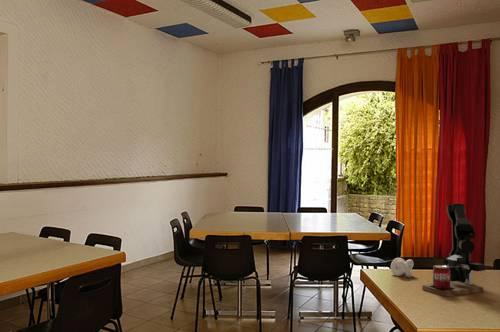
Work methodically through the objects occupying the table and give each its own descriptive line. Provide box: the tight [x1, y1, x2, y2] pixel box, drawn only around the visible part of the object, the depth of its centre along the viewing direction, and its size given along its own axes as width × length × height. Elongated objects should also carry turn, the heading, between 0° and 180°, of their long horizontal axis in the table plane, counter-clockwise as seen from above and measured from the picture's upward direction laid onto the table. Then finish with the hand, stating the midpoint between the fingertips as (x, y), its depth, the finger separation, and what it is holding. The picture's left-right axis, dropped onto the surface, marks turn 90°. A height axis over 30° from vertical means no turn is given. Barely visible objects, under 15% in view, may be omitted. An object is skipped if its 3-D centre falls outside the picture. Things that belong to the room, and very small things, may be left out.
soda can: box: [432, 264, 451, 291], centre depth 200 cm, size 7×7×12 cm
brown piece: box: [421, 271, 484, 298], centre depth 203 cm, size 25×13×8 cm, turn 115°
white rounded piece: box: [390, 257, 415, 278], centre depth 233 cm, size 11×12×9 cm
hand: (463, 282), depth 206 cm, fingers closed, pressing on brown piece
